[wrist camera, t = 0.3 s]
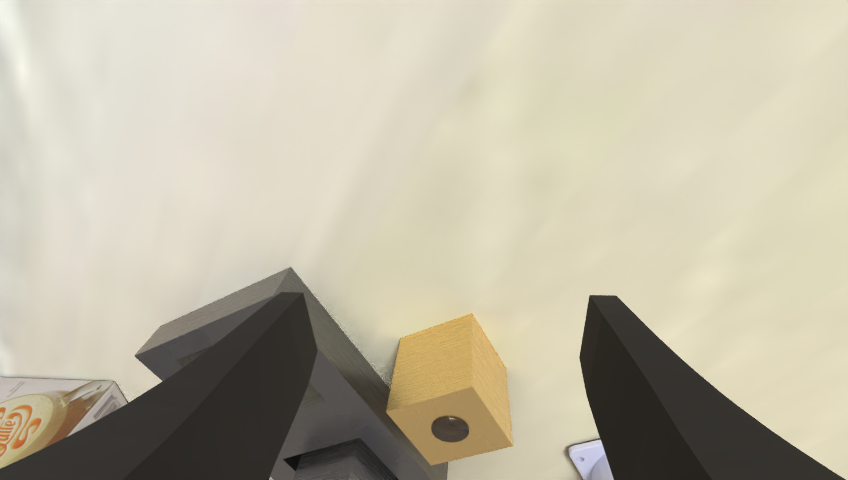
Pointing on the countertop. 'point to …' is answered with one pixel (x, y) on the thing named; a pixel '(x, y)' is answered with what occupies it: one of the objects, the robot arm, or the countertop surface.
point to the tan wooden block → (451, 392)
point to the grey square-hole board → (328, 387)
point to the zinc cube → (342, 463)
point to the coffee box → (49, 411)
